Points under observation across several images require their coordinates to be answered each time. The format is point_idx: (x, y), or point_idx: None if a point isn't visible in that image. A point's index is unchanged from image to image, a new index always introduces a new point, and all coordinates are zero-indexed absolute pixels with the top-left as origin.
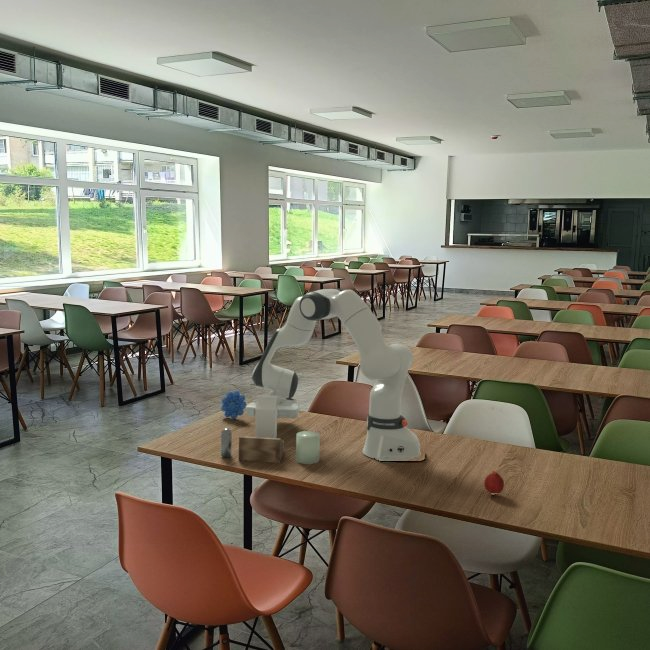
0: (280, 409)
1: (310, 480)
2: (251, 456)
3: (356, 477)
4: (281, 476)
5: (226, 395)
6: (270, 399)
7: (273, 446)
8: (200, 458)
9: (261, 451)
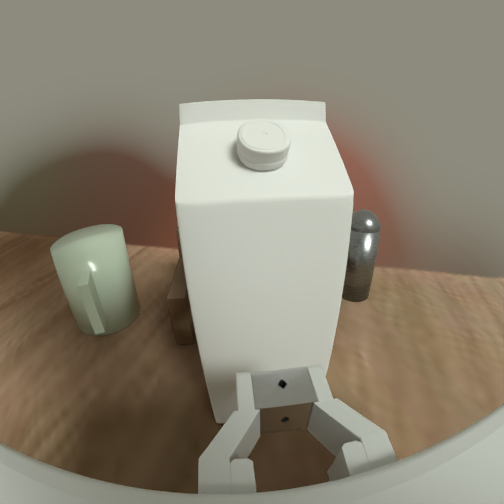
0: (157, 492)
1: (130, 248)
2: None
3: (51, 265)
4: None
5: None
6: (227, 123)
7: None
8: (394, 271)
9: None
